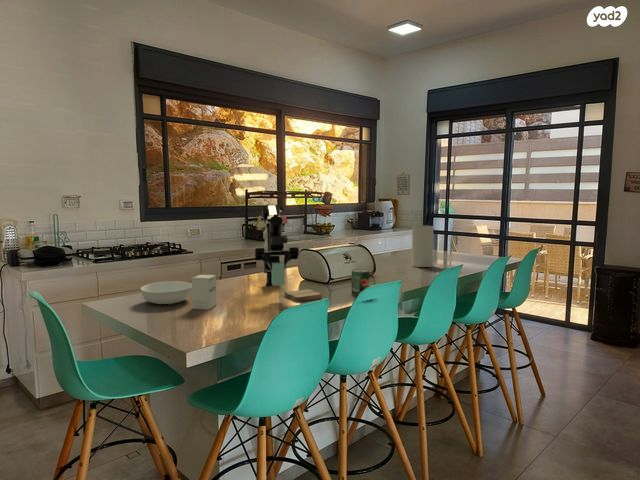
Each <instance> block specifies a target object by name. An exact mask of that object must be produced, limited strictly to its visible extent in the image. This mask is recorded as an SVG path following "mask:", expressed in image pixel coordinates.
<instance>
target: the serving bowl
mask: <svg viewBox="0 0 640 480" xmlns="http://www.w3.org/2000/svg"><path fill="white" fill-rule="evenodd" d="M140 293H141V296H142V298H143V299H144V300H146V301H147V302H149V303H152V304H156V305H157V304H158V305H161V304H164V305H165V304H168V305H174V304H177V303H181V302H183V301H186V300H187V299H188V298H189V297H190V296H192V282H189V281H181V280H180V281H179V280H177V281H176V280H175V281H173V280H172V281H159V282H153V283H148V284H145V285H143V286H141V287H140Z"/></svg>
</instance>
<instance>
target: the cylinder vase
mask: <svg viewBox="0 0 640 480" xmlns="http://www.w3.org/2000/svg"><path fill="white" fill-rule="evenodd" d="M411 230H412V232H411V233H412V235H411V236H412V237H411V241H412V242H411V266H412V267H413V266H414V267H413V268H418V267H429V268H433V262H434V261H433V257H434V256H433V255H434V252H433V251H434V225H421V224H419V225H412V229H411Z"/></svg>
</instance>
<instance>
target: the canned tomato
mask: <svg viewBox="0 0 640 480" xmlns="http://www.w3.org/2000/svg"><path fill="white" fill-rule="evenodd" d="M367 287H369V288H370V270H369V269H365V268H355V269H351V295H352V296H353V297H355V296H356V297H358V296H357V295H358V294H359V293H360V292H361V291H363V290H364V289H366V288H367Z"/></svg>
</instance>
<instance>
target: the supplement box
mask: <svg viewBox="0 0 640 480" xmlns="http://www.w3.org/2000/svg"><path fill="white" fill-rule="evenodd" d="M191 283H192V293H191V306H192V307H191V308H192V309H193V310H207V311H208V310H210V309H212V308H213V307H215V306H217V275H215V274H199V275H195V276H193V277H191Z"/></svg>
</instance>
